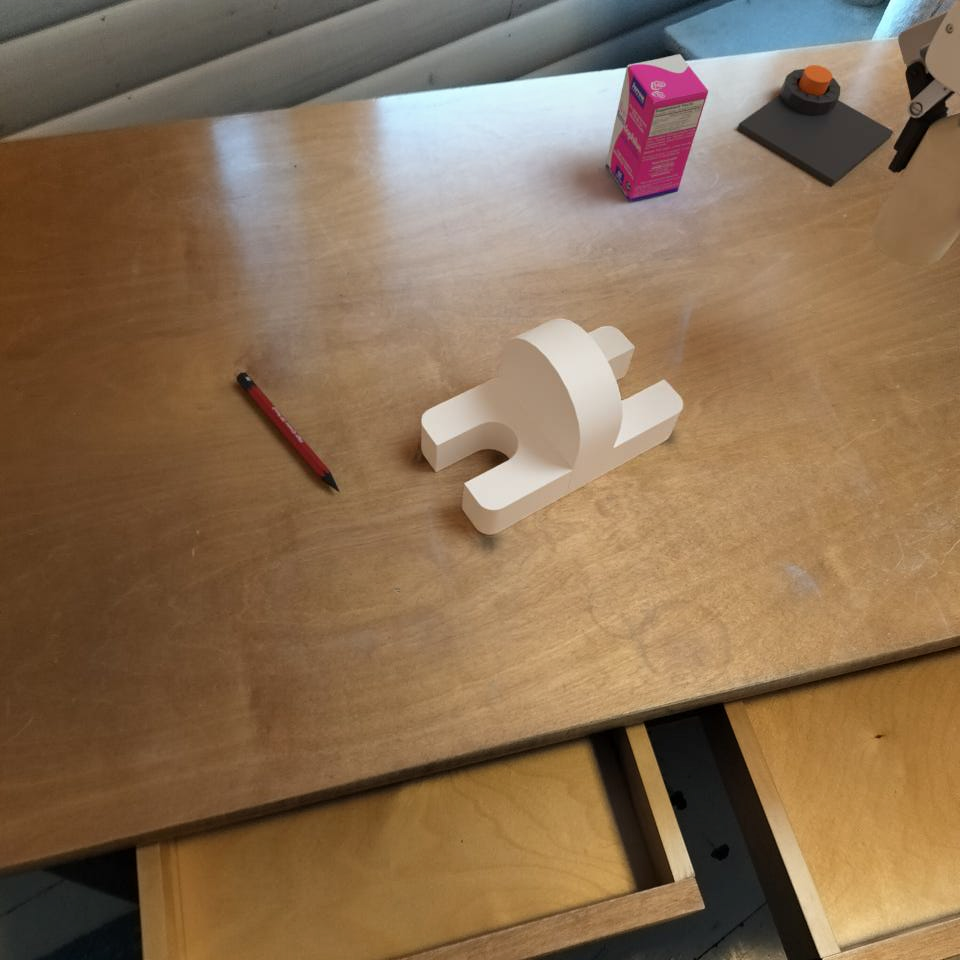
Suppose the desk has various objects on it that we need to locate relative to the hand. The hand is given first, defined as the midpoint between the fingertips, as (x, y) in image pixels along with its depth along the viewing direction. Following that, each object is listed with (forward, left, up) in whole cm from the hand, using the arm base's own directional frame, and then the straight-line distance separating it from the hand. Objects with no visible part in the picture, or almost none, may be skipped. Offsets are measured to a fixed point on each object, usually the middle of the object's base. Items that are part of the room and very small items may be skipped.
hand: (941, 187), depth 59 cm
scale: (-23, -22, -19) cm, 37 cm away
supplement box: (-2, -27, -19) cm, 33 cm away
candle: (0, 0, -5) cm, 5 cm away
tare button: (-26, -26, -17) cm, 40 cm away
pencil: (+43, -20, -19) cm, 51 cm away
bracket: (+26, -8, -19) cm, 33 cm away
